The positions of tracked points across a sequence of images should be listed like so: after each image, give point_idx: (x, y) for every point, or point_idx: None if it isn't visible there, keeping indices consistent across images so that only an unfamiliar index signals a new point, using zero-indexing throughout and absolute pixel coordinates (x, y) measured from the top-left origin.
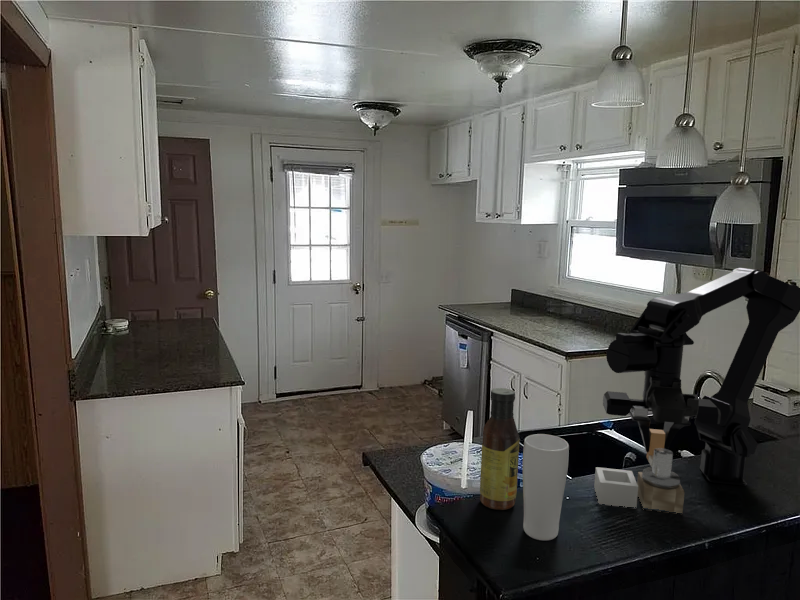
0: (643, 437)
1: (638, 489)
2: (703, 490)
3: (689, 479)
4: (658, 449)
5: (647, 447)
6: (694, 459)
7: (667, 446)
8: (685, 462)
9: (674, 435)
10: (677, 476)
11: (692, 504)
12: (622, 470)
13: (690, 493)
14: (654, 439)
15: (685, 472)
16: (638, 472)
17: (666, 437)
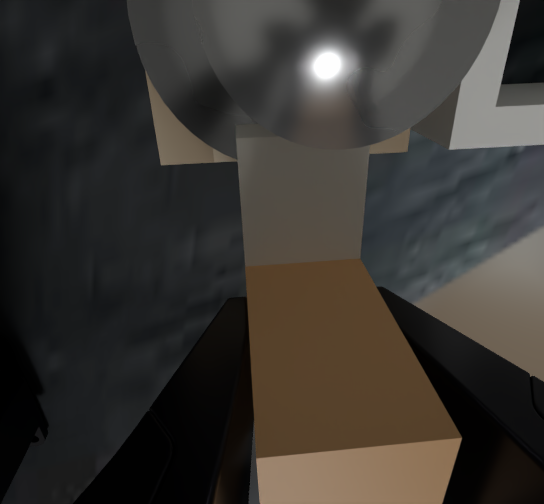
0: (510, 364)
1: None
2: (28, 250)
3: (92, 335)
4: (407, 77)
5: (396, 305)
6: (70, 487)
7: (215, 335)
8: (104, 458)
9: (122, 455)
10: (149, 20)
11: (81, 64)
12: (511, 137)
13: (90, 199)
14: (374, 368)
15: (106, 387)
16: (408, 140)
17: (235, 418)
